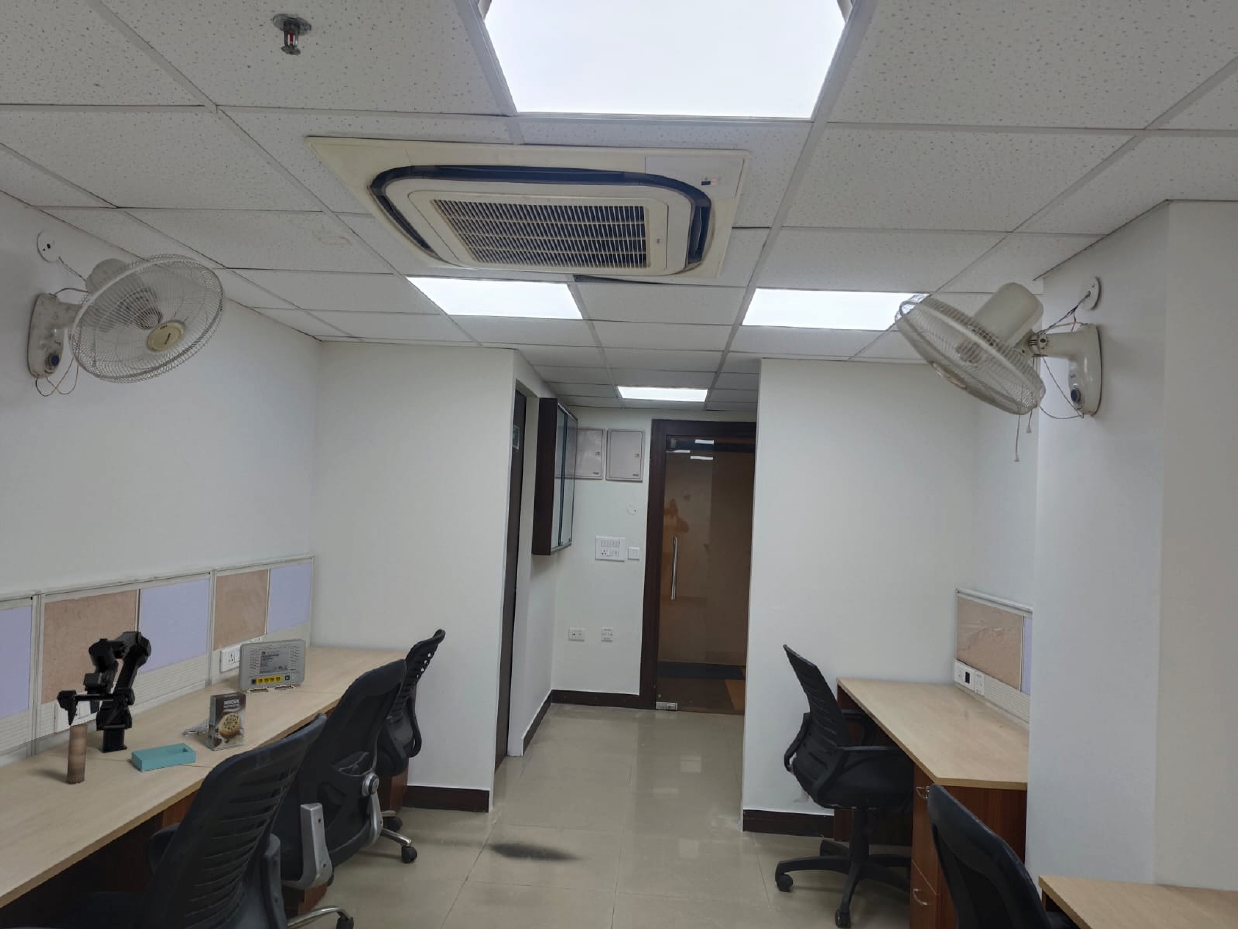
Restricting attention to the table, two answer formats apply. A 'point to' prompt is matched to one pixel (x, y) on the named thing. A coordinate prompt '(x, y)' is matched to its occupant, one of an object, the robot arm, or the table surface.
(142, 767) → the holder block
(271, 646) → the network device
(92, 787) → the table surface
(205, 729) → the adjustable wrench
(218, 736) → the brown cookie box
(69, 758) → the peg
